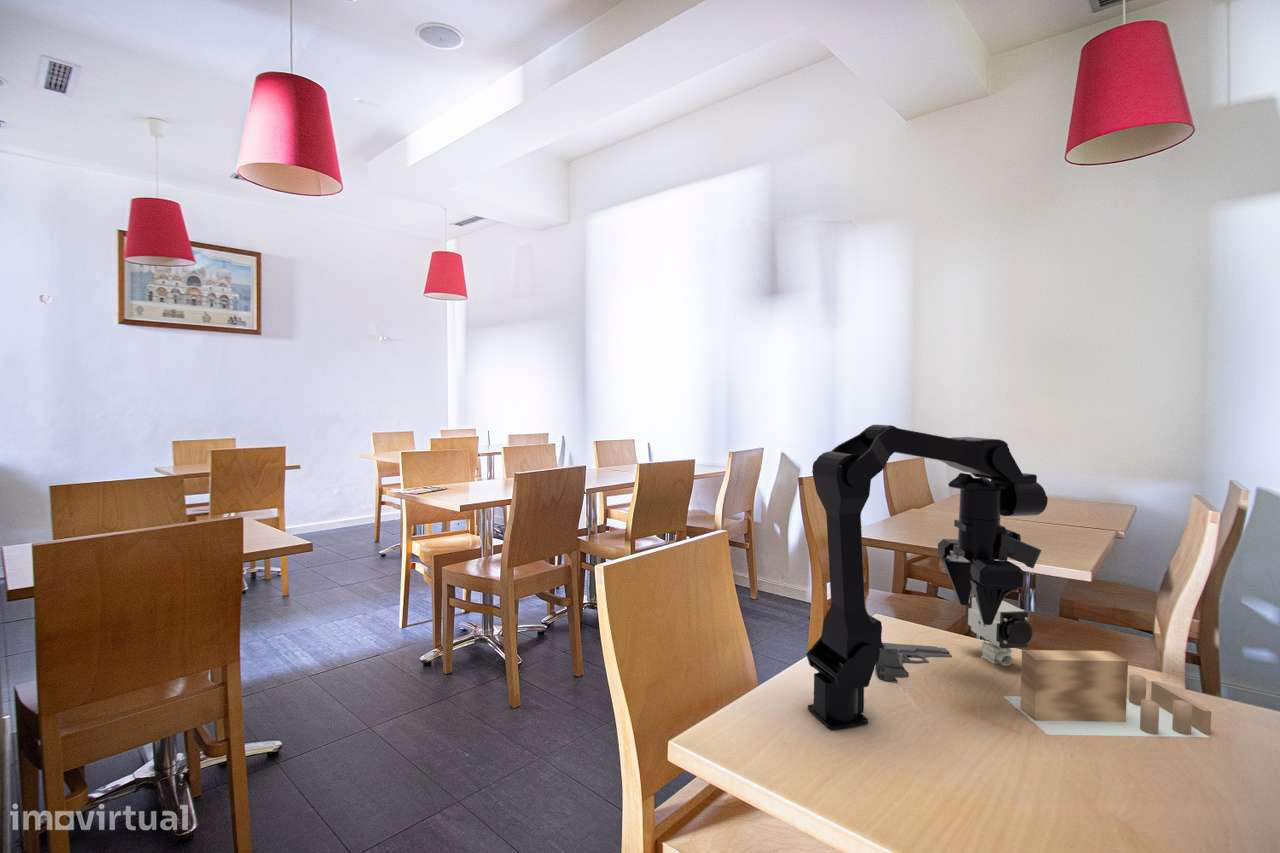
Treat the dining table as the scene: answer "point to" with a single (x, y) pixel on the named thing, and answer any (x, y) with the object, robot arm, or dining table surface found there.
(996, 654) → the pneumatic valve
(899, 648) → the handgun
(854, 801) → the dining table surface
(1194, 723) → the panel
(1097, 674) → the brown wooden block
